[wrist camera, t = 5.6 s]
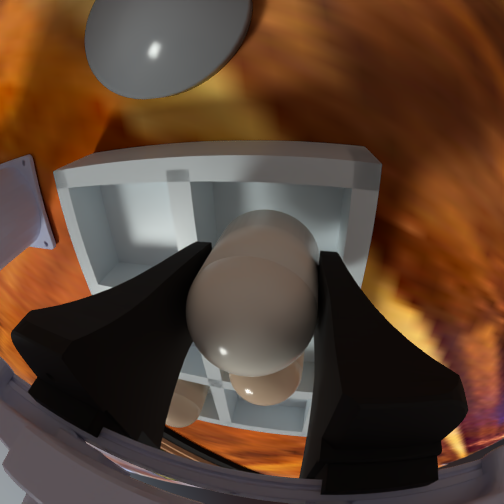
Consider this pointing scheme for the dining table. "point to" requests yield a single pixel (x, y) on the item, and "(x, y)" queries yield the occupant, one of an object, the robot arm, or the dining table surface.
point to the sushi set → (194, 452)
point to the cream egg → (256, 295)
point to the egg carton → (218, 228)
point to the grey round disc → (162, 43)
